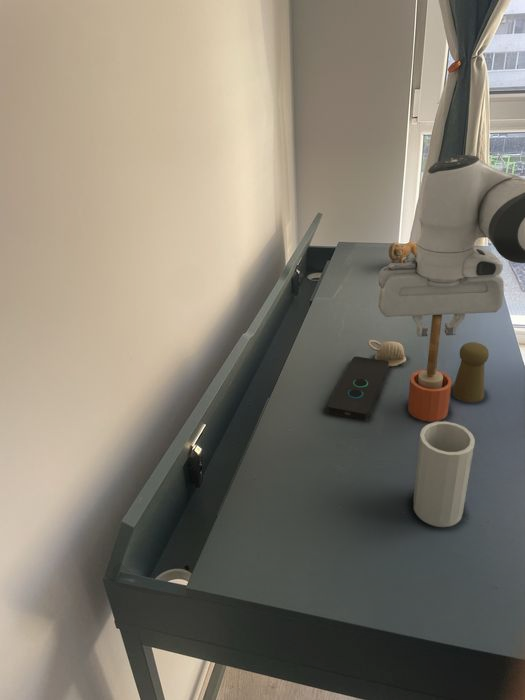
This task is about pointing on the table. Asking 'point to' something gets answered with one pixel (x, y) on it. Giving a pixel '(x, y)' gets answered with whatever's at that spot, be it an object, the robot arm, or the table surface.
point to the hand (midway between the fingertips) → (435, 334)
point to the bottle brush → (432, 358)
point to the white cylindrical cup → (442, 473)
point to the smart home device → (358, 388)
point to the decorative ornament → (389, 352)
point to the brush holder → (429, 399)
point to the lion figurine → (401, 251)
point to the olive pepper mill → (471, 373)
